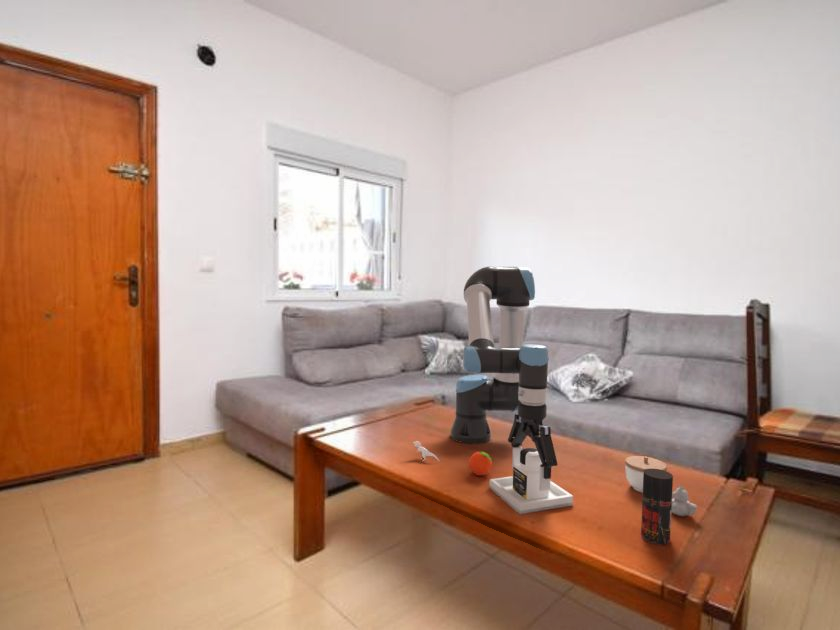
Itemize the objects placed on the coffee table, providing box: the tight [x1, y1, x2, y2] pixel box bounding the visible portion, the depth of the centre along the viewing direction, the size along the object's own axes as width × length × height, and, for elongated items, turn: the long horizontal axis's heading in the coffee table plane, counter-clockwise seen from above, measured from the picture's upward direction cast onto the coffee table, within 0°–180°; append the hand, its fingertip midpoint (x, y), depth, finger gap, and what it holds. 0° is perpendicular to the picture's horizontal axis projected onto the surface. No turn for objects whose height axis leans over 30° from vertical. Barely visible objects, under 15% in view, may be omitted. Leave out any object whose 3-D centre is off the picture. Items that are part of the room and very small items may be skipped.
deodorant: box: [640, 469, 674, 546], centre depth 105 cm, size 6×6×15 cm
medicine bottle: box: [512, 447, 549, 500], centre depth 125 cm, size 7×7×12 cm
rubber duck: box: [671, 484, 698, 517], centre depth 116 cm, size 5×7×8 cm
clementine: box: [468, 450, 493, 476], centre depth 140 cm, size 8×7×7 cm
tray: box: [489, 475, 574, 515], centre depth 126 cm, size 16×16×2 cm
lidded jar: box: [624, 455, 668, 494], centre depth 131 cm, size 11×11×9 cm
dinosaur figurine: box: [412, 440, 440, 462], centre depth 151 cm, size 15×12×6 cm
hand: (530, 479), depth 126 cm, fingers open, 13 cm apart
